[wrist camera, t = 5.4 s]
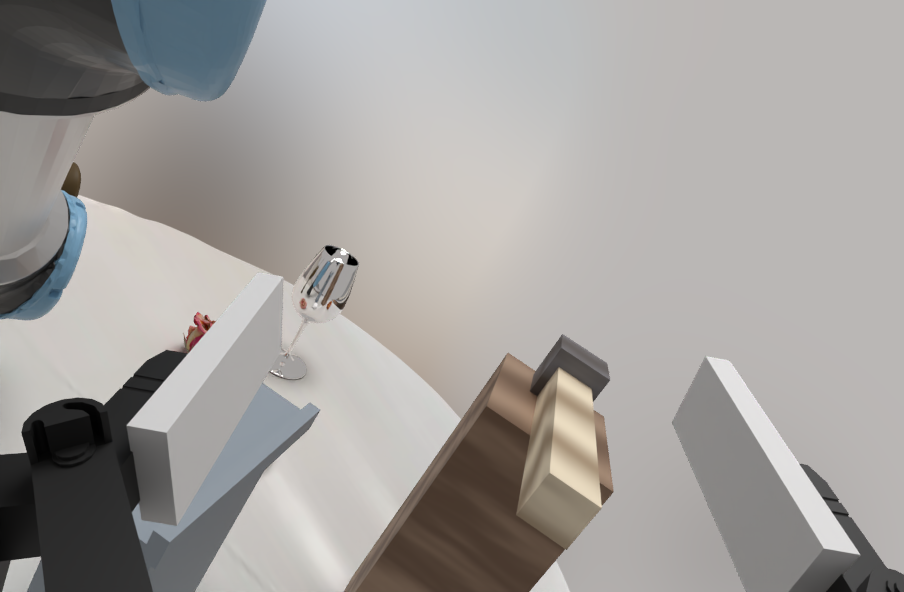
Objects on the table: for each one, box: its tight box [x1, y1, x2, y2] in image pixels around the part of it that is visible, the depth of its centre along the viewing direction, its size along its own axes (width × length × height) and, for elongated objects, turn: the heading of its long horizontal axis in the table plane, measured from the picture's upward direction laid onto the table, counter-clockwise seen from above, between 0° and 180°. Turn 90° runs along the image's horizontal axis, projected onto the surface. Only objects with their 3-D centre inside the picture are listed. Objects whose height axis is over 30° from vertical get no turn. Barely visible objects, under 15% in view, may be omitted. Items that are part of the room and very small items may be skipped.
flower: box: [183, 312, 216, 353], centre depth 71 cm, size 9×9×7 cm
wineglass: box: [270, 245, 359, 379], centre depth 79 cm, size 8×8×20 cm
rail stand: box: [27, 383, 320, 592], centre depth 37 cm, size 16×8×21 cm, turn 165°
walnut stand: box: [344, 353, 613, 592], centre depth 45 cm, size 12×10×30 cm
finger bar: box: [516, 334, 610, 550], centre depth 36 cm, size 20×4×4 cm, turn 165°
